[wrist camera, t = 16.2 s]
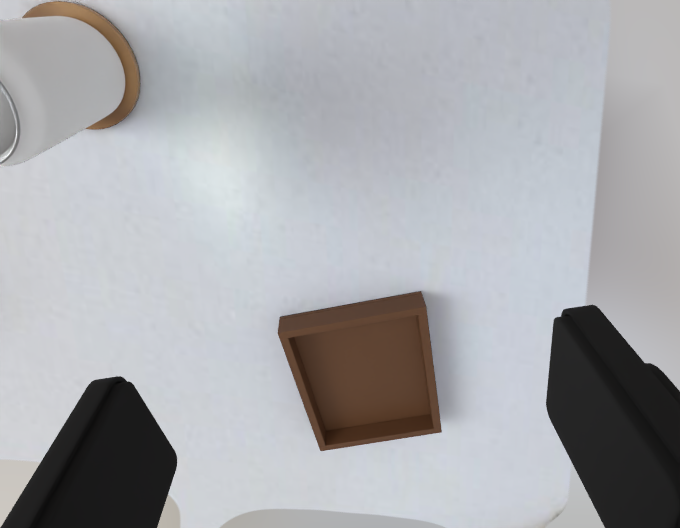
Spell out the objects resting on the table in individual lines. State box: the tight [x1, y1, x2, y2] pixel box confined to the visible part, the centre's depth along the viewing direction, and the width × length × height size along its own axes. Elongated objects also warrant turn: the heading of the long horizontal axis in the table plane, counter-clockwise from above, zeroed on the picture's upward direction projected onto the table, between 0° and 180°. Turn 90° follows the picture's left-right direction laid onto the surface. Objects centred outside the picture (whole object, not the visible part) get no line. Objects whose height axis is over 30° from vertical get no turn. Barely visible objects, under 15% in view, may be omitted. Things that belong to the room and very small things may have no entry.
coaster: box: [22, 1, 140, 129], centre depth 30 cm, size 8×8×1 cm
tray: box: [278, 291, 442, 451], centre depth 45 cm, size 18×14×2 cm
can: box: [0, 16, 125, 167], centre depth 25 cm, size 6×6×12 cm
